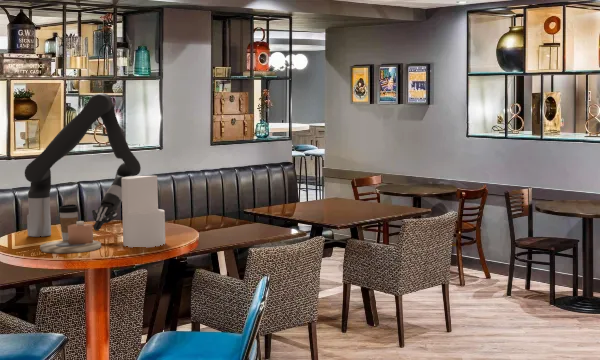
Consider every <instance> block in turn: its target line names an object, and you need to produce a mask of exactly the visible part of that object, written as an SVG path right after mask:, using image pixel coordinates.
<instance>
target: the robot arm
mask: <svg viewBox="0 0 600 360" xmlns="http://www.w3.org/2000/svg"><path fill="white" fill-rule="evenodd" d="M98 119H101V120H102V122H103V126H104V128H105V131H106V136H107V139H108V142H109V145H110V147H111V149H112V152H113V155H114V157H115V158H116V159H120V160H122V163H121V164H120V165H119V166H118V168H117V170H116V173H115V176H114V177H115V178H114V180H113V182H112V183H111V185H110V187H109V188H108V189H107V191H106V192H105V194H104V196H103V198H102V199H101V202H100V206H99V207H98V209H96V210H95V209H93V210H92V211H91V212H92V217H93V220H94V222H95V223H94V224H93V231H96V232H99V231H100V230H101V228H102V226H103V225H104V224H108V223H111V222H112V221H113V220H114V219H116V217H118V216H119V215H118V213H117V212H116V211H117V210H118V209H119V207H120V205H121V204H122V182H121V178H122V177H129V176H139V174H140V173H141V169H142V168H141V164H140V161H139V160H138V158H137V157H136V156H135V154H134V153H133V152H132V151H131V150H130V147H129V144H128V142H127V140H126V137H125V136H124V132H123V131H122V129H121V127H120V126H121V125H120V124H119V121H118V118H117V115H116V111H115V108H114V103H113V100H112V98H111V96H110V95H109V94H107V93H104V92H100V93H99V92H98V93H95V94H94V95H92V96H91V97H90V98H89V100H88V101H87V102H86V104H85V105H84V106H83V108H82V109H81V110H80V112H78V114H77V115H76V116H75V117H74V118H73V119H72V120H70V121H69V122H68V123H67V124H66V125H65V126H63V128H61V130H60V131H59V132H58V133H57V134H56V136H54V138H53V139H52V140H51V141H50V143H48V145H47V146H46V147H45V149H44V150H43V151H42V152H41V153H40V154H39V155H38V156H37V157H36V158H34V159H33V160H32V161H31V162H30V163H28V164H27V166H26V167H25V169H24V177H25V179H26V180H27V181H28V182H30V187H29V189H28V193H27V198H28V200H27V201H28V202H27V203H28V214H27V215H26V224H27V225H26V226H27V236H28V237H34V238H35V237H36V238H39V237H40V236H41V237H42V238H43V237H48V236H51V235H52V224H51V223H52V222H51V221H52V220H51V199H50V198H51V196H50V195H51V190H52V189H51V188H52V172H51V171H52V170H51V168H52V167H53V166H54V165H55V164H56V163H57V162H58V161H59V160H61V159H62V158H64V157H66V155H68V154H69V153H70V152H71V151H73V150H74V149H75V148H76V147H77V146H78V144H80V142H81V141H82V140H83V139H84V137H85V135H86V134H87V132H88V131H89V129H90V127H91V126H92V125H93V124H95V122H96V121H97V120H98Z"/></svg>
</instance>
